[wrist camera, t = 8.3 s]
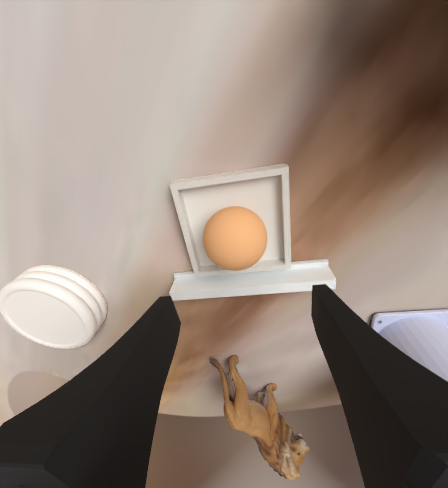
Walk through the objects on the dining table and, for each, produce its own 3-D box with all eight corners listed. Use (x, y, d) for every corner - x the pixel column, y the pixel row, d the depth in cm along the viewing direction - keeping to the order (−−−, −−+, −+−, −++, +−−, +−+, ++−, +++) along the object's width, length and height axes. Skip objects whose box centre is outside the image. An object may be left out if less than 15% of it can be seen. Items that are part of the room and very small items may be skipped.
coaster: (110, 276, 25) (91, 299, 22) (108, 334, 30) (93, 359, 27) (15, 251, 24) (-18, 272, 21) (29, 315, 29) (4, 338, 26)
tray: (288, 260, 22) (291, 268, 21) (197, 269, 23) (195, 276, 22) (285, 163, 17) (288, 166, 16) (173, 180, 19) (169, 184, 18)
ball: (266, 246, 21) (273, 280, 16) (212, 252, 21) (206, 287, 17) (261, 193, 18) (268, 216, 14) (201, 202, 19) (190, 227, 15)
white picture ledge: (325, 275, 22) (334, 293, 20) (179, 287, 24) (173, 304, 22) (327, 258, 21) (336, 275, 19) (174, 272, 23) (167, 288, 21)
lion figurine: (302, 392, 33) (321, 479, 25) (276, 405, 35) (286, 489, 27) (222, 346, 29) (214, 432, 21) (198, 364, 31) (183, 448, 23)
